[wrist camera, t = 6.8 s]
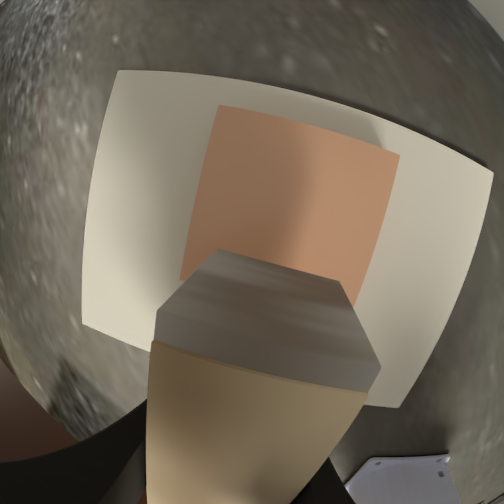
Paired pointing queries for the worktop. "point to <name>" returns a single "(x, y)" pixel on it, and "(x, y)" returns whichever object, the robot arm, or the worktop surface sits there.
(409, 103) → the worktop surface
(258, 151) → the tile
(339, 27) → the worktop surface
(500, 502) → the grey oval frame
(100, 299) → the mat
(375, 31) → the worktop surface
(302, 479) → the tan wooden block
